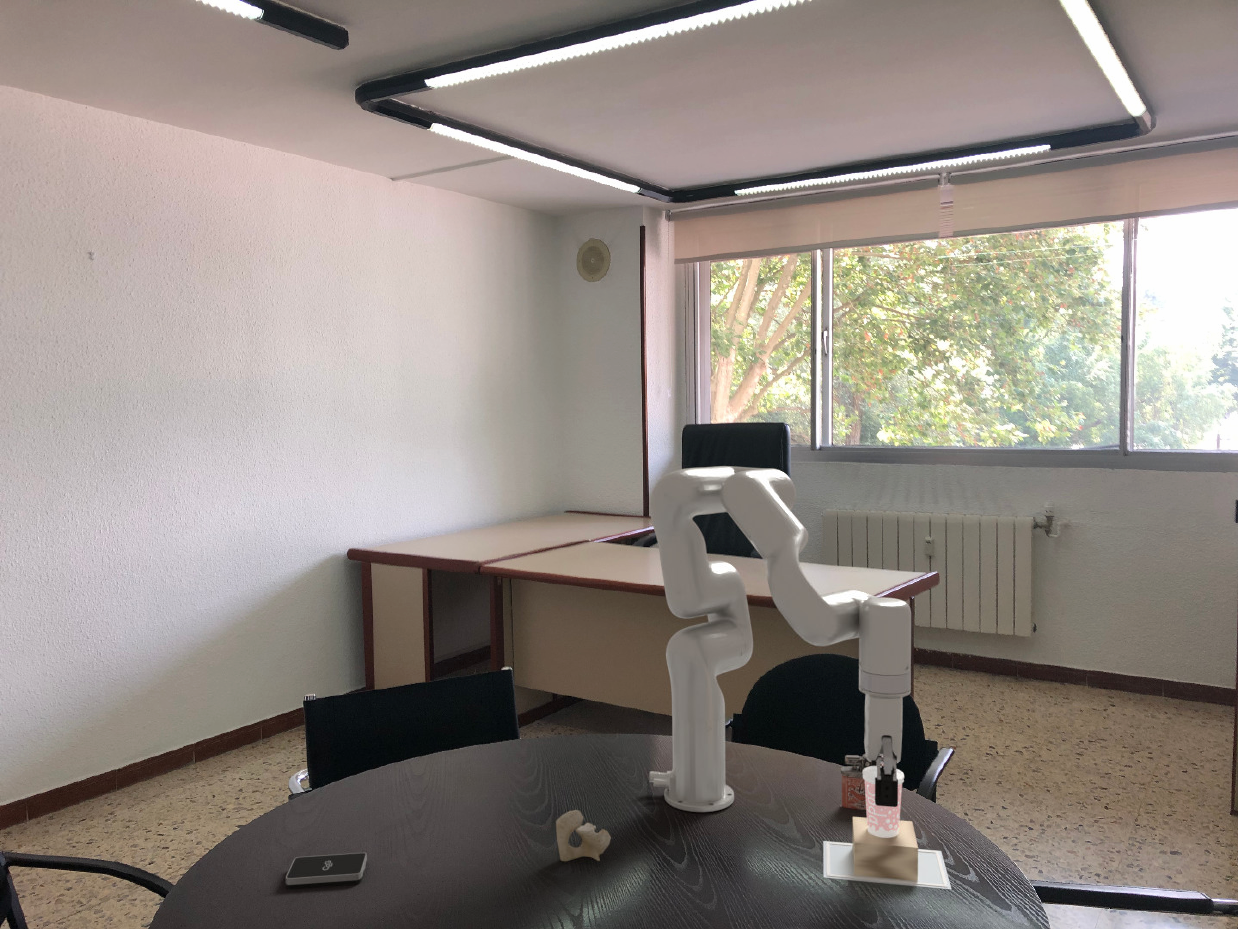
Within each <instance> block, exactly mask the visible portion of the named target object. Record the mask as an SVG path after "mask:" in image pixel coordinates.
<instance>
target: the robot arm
mask: <svg viewBox="0 0 1238 929" xmlns="http://www.w3.org/2000/svg"><path fill="white" fill-rule="evenodd" d="M796 499H797V491H796V487H795V484H794V482H793V480H792V478H790V477H789V476H788V475H787V474H786V473H785V472H784V471H781V469H777V468H764V467H763V468H761V467H745V466H729V465H728V466H727V465H722V466H721V465H719V466H707V467H689V468H682V469H677V470H674V471H672V472H669V473H667V474H665V475H664V476H662V477H661V478H660V479H659V480H658V481H657V482H656V483H655V486H654V487H653V488H652V492H651V495H650V499H649V513H650V519H651V522H652V523H651V524H652V527H653V530H654V534H655V536H656V537H655V538H656V541H657V546H658V551H659V559H660V566H661V574H662V578H663V579H662V581H663V587H664V592H665V598H666V603H667V606H668V609H669V610H670V612H671V613H672V614H673V615H674V616H675V617H677V618H679V619H680V618H681V619H685V620H686V619H694V618H699V617H704V616H707V620H708V622H702V623H697V624H695V625H690V626H687V627H684V628H681V629H680V630H678V631H676V632H675V633H673V635H672V636H671V638H669V640H668V642H667V645H666V649H665V657H666V658H665V659H666V664H667V668H668V674H669V679H670V680H669V681H670V686H671V687H670V688H671V717H672V720H671V722H672V769H671V770H667V771H666V772H660V771H654V770H653V771H649V775H648V776H649V777H648V778H649V780H648V781H649V783H653V787H658V788H661V787H662V788H665V790H664V795H663V796H664V800H665V801H666V803H667V804H669V805H670V806H671V807H673V808H676V809H678V810H682V811H686V812H690V813H691V812H692V813H710V812H717V811H720V810H723V809H726V808H728V807H730V806H731V805H732V804H733V802H734V800H735V792H734V790H733V789H732V788H731V786H729V785H728V784H726V705H725V704H726V703H725V697H724V694H723V692H722V690H721V687H720V686H719V683H718V680H717V677H718V676H719V675H721V674H723V673H724V674H725V673H727V672H731V671H734V670H738V669H740V668H742V667H743V666H746V664H747V663H748V662H749V661H750V659H751V658H752V655H753V652H754V651H753V650H754V639H753V638H754V637H753V636H754V635H753V630H752V624H751V618H750V611H749V604H748V598H747V591H746V586H745V584H744V580H743V578H742V576H741V574H740V573H739V571H738V570H737V568H736V567H734V566H733V565H732V564H731V563H729V562H727V561H723V560H710V561H709V559H708V554H707V545H706V541H705V536H704V535H703V533H702V531H701V530H700V528H699V526H698V524H697V523H696V522H695V521H694V520H693V519H694V517H696V516H701V515H711V514H720V513H728V515H729V517H731V519H732V520H733V521H734V524H736V525H737V527H738V529H740V531H741V532H742V533H743V534H744V536H745V537H746V539H747V540H748V541H749V542H750V543H751V545H752V546H753V547H754V549H755V550H756V551H757V553H758V554H759V555H760V556H761V558H762V559H763V561H764V562H765V565H766V579H767V583H768V589H769V592H770V595H771V598H772V601H773V602H774V605H775V606H776V608H777V610H778V611H779V613H780V614H781V615H782V616H783V617H784V619H785V620H786V622H787V623H788V625H789V626H790V627H791V628H792V629H793V630H794V632H795V633H796V634H797V635H798V636H799V637H800V638H801V639H803V641H804V642H807V643H809V644H810V645H813V646H816V647H827V646H831V645H834V644H837V643H840V642H844V641H847V640H852V639H858V644H859V645H858V657H859V658H858V667H859V668H858V689H859V691H860V692H861V693H863V694H864V695H865V697H864V698H865V700H864V739H863V740H864V741H863V743H864V750H865V751H864V752H865V753H864V754H866V758H867V760H868V761H869V762H871V760H872V766H877V777H875V804H876V805H877V806H889V807H897V806H898V779H897V771H896V769H897V764H898V763H899V762H901V758H902V745H903V744H902V740H903V739H902V738H903V698H905V697H907V696H909V695H910V694H911V693H912V692H911V691H912V689H911V688H912V684H911V683H912V679H911V678H912V670H911V669H912V666H911V664H912V610H911V607H910V605H909V604H908V603H907V602H906V601H905V600H902V599H898V598H894V597H884V596H883V597H881V596H880V597H878V596H876V595H874V594H873V595H872V594H870V593H867V592H863V591H861V590H857V589H841V590H838V591H833V592H829V593H828V592H827V593H824V594H821V595H820V593H819V592H818V591H817V590H816V589H815V588H814V587H813V585H812V583H810V581H809V580H808V579H807V577H806V575H805V574H804V572H803V570H802V568H801V564H800V559H799V555H800V554H801V552H802V551H803V550H804V548H805V547H806V545H807V544H808V541H809V533H808V532H809V531H808V530H807V528H806V527H805V526H804V525H803V524H802V523H801V522H800V520H799V518H797V517H796V516H795V514H794V513H793V512H792V509H793V507H795V504H796ZM882 756H883V757H882ZM882 764H883V766H882ZM881 766H882V767H881Z"/></svg>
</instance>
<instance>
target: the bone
mask: <svg viewBox="0 0 1238 929" xmlns="http://www.w3.org/2000/svg"><path fill="white" fill-rule="evenodd" d="M584 819H585V818H584V816H583V814H582V812H581V811H580V810H578V809H575V810H569V811H567V812H566V813H563V814H561V816H560V817H558V818H557V819H556V821H555V828H556V830H555V832H556V839H557V840H556V841H557V847H558V853H559V854H558V855H559V860H560V861H562V862H569V861H571V860H575V859H578V858H582V857H589V858H593V859H594V860H596V861H597V862H600V861H601V860H600V859H601V858H600V855H603V854H604V852H605V850H606V849H607V848H608V847H609V845H610V843H611V839H612V837H611V834H610V833H609V831H608V830H606V829H605V828H603V829H601V830H600V831H598V832H596V829H597V826H596V825H594V824H592V823H590V822H585V824H584V825H582V824H583V822H584ZM574 831H575V832H576V834H578V835H579V836H580V838H581V840H582V841H581V844H580V845H579V846H577V847H575V846H571V844H570V843H569V839H570V837H571V835H572V834H573V832H574Z"/></svg>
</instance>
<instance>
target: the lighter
mask: <svg viewBox="0 0 1238 929" xmlns="http://www.w3.org/2000/svg"><path fill="white" fill-rule="evenodd" d="M844 764H846V765H847V766H842V767H841V768H840V775H841V804H840V808H844V809H850V810H859V811H860V810H864V811H866V796H865V780H864V779H863V770H864V769H865V768H867V767H870V766H872V760H871V762H869V761H868V760H867V758H866V753H864V754H862V756H859V755H849V754H847V755H845V756H844ZM848 765H851V766H848Z"/></svg>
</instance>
